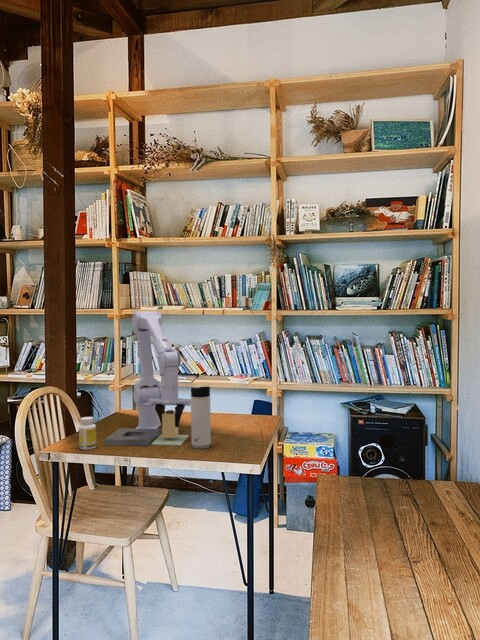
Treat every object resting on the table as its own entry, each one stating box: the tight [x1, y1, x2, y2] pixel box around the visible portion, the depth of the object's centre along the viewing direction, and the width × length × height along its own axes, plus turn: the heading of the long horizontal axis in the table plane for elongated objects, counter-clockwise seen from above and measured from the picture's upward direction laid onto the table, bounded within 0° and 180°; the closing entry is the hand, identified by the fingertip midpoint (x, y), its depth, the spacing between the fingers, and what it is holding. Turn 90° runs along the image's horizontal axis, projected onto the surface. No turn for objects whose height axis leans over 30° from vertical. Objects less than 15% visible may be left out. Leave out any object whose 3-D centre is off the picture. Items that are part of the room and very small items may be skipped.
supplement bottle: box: [78, 416, 97, 451], centre depth 168 cm, size 5×5×10 cm
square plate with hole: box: [104, 427, 162, 447], centre depth 177 cm, size 15×15×2 cm
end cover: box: [161, 409, 179, 438], centre depth 175 cm, size 4×4×9 cm
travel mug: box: [190, 386, 212, 450], centre depth 167 cm, size 6×7×20 cm
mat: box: [150, 434, 189, 447], centre depth 175 cm, size 12×10×1 cm
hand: (170, 426), depth 175 cm, fingers closed on end cover, 4 cm apart
